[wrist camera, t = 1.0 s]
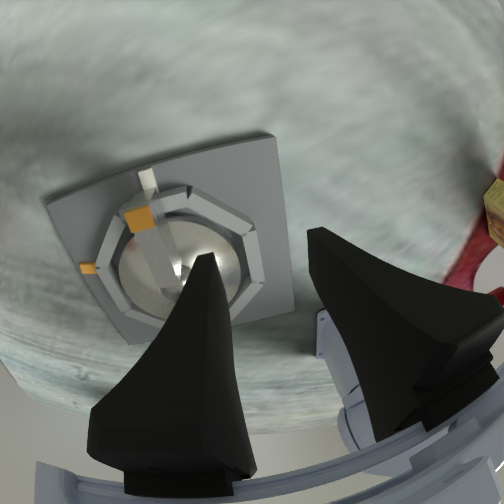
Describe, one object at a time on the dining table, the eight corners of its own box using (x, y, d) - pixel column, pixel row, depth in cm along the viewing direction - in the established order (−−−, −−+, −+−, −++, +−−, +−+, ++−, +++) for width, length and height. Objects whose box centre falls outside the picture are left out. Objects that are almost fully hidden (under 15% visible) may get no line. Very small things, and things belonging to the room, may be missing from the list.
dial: (247, 296, 23) (256, 334, 20) (149, 317, 23) (145, 354, 19) (216, 164, 17) (220, 187, 13) (91, 201, 16) (67, 232, 13)
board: (292, 303, 26) (298, 320, 24) (130, 337, 26) (127, 354, 24) (272, 134, 17) (280, 140, 15) (51, 200, 16) (38, 213, 14)
